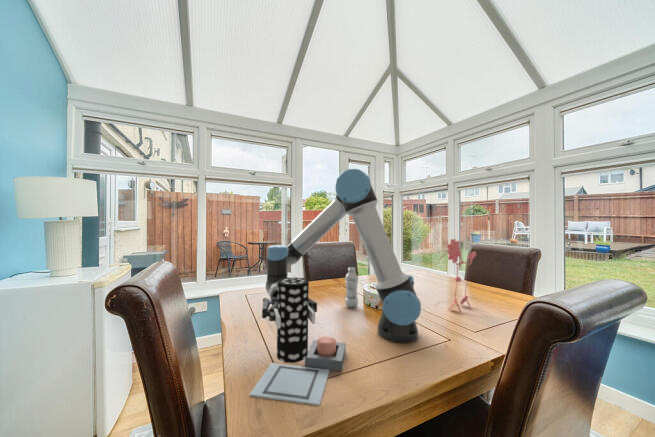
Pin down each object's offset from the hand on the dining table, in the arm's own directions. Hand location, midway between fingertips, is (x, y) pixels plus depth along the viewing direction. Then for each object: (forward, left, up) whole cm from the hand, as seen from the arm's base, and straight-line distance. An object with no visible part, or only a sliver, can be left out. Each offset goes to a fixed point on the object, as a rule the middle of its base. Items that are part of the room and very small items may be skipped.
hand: (296, 320), depth 65 cm
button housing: (-5, -17, -19) cm, 26 cm away
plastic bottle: (-9, -66, -19) cm, 69 cm away
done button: (-5, -17, -17) cm, 25 cm away
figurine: (-60, -77, -19) cm, 99 cm away
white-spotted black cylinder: (+2, -4, -11) cm, 12 cm away
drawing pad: (+2, -4, -19) cm, 19 cm away
